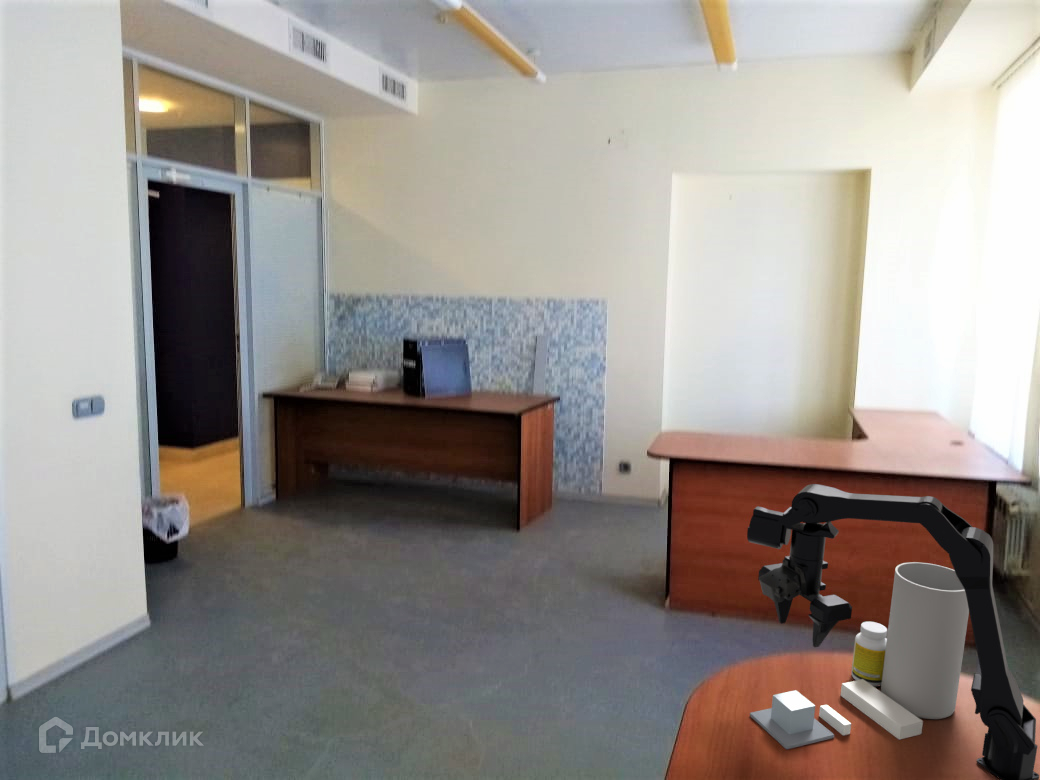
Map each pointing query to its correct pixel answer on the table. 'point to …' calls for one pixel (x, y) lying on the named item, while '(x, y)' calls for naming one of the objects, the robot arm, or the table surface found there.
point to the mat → (793, 739)
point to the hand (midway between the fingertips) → (798, 634)
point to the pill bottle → (869, 653)
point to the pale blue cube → (792, 712)
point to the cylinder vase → (925, 639)
